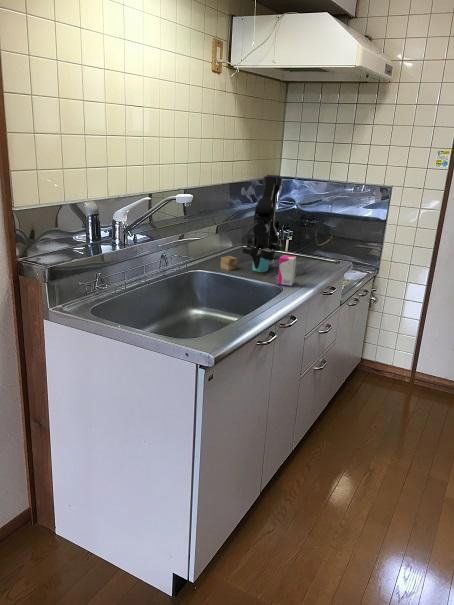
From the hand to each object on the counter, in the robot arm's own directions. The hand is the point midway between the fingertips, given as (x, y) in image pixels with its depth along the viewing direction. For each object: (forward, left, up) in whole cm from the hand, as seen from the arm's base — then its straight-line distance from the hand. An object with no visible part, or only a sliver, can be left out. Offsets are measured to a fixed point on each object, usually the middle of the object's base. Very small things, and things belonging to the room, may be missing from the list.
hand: (260, 267), depth 220 cm
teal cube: (0, 0, -1) cm, 1 cm away
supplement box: (+7, +21, -2) cm, 22 cm away
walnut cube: (+10, -10, -1) cm, 14 cm away
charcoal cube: (-10, +12, -1) cm, 16 cm away
